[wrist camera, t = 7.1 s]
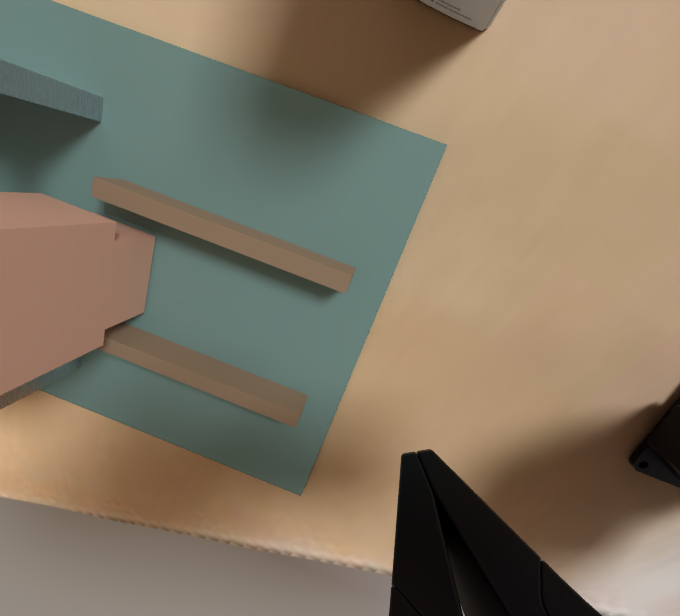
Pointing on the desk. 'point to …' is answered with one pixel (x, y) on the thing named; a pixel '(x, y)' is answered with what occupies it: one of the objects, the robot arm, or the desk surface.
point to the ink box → (469, 10)
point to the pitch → (217, 233)
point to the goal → (66, 99)
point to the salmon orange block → (63, 282)
